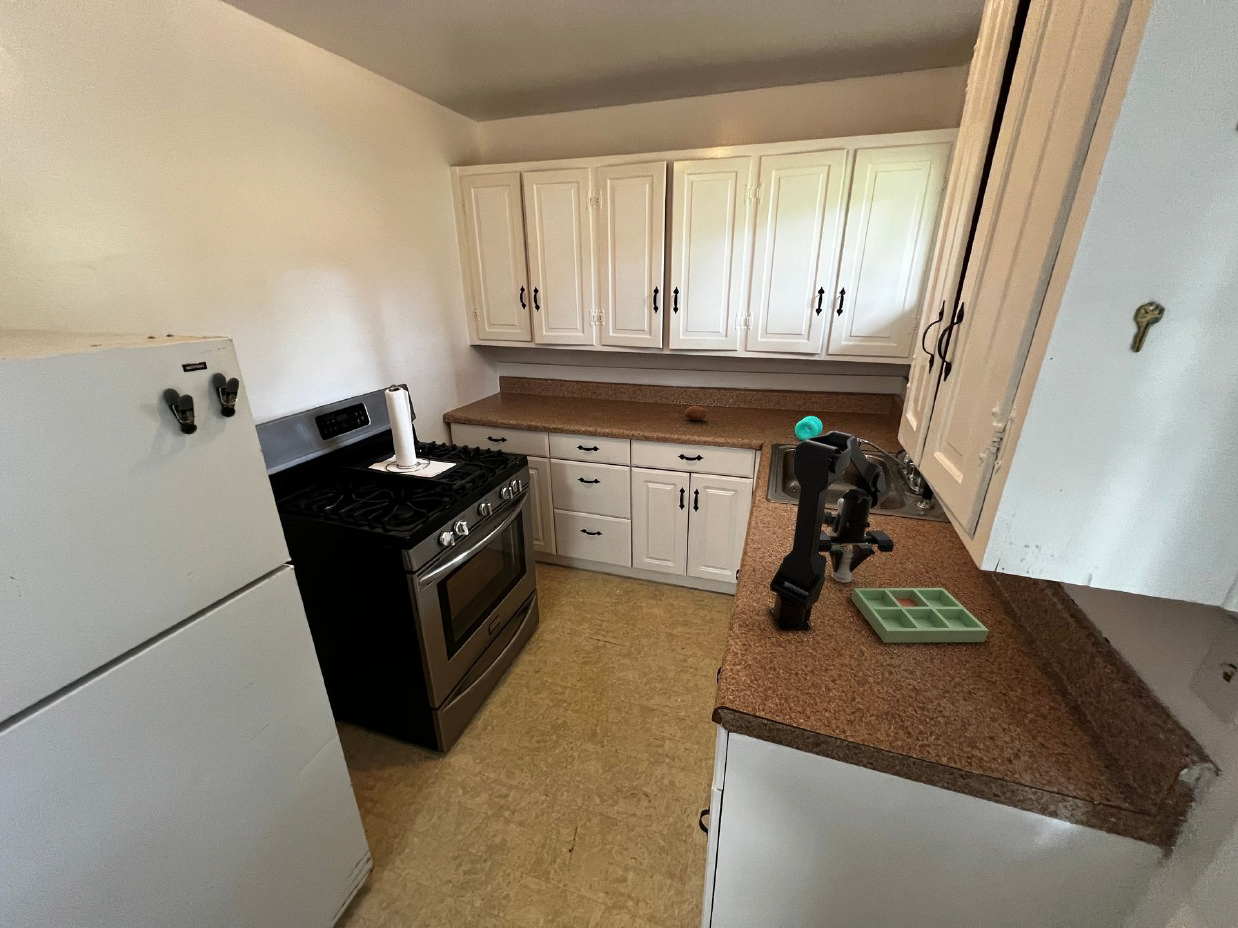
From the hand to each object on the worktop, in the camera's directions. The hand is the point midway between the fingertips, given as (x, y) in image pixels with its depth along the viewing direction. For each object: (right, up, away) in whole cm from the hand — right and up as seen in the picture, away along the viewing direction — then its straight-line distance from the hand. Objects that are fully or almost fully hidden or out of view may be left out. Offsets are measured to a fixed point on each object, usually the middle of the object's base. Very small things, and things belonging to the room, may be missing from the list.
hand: (842, 571), depth 116 cm
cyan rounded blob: (+32, +37, +102) cm, 113 cm away
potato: (-15, +48, +128) cm, 138 cm away
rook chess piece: (0, -2, +1) cm, 2 cm away
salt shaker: (+7, +4, +17) cm, 19 cm away
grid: (+9, -7, -13) cm, 18 cm away
